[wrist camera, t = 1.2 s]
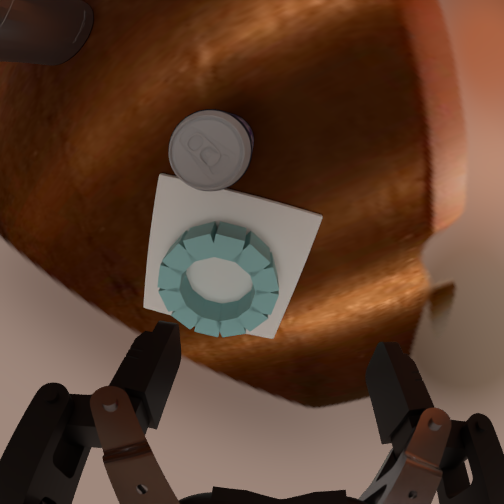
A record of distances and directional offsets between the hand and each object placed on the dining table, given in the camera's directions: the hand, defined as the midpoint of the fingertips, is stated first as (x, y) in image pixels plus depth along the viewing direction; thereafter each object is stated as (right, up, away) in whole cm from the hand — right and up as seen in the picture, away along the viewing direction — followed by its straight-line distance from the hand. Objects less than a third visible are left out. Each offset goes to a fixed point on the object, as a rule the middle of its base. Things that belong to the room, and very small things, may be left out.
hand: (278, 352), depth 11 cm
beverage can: (-4, +15, +17) cm, 23 cm away
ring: (-5, +1, +23) cm, 24 cm away
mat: (-4, +2, +23) cm, 24 cm away
